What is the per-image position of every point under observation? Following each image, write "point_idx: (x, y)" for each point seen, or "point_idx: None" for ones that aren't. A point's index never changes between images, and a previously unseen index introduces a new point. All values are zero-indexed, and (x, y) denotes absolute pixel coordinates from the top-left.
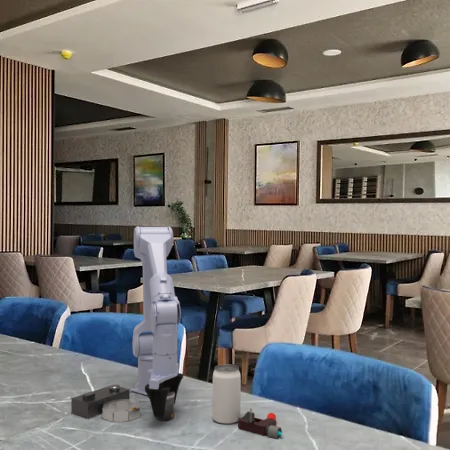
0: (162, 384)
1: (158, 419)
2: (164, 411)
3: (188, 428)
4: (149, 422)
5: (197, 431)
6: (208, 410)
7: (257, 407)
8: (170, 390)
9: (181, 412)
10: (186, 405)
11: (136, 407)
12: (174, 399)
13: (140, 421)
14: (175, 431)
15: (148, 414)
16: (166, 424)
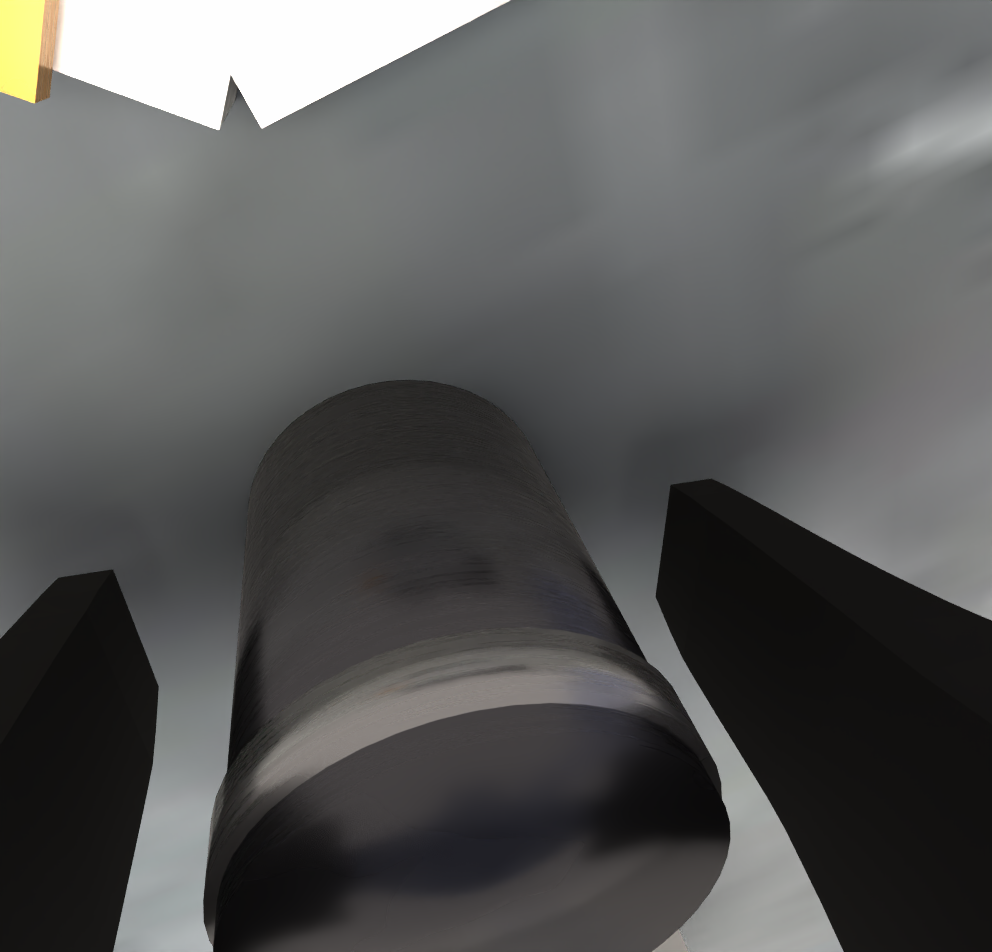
0: (981, 726)
1: (249, 505)
2: (141, 778)
3: (193, 855)
4: (94, 410)
5: (167, 931)
6: (737, 769)
7: (825, 947)
8: (634, 929)
9: (641, 603)
10: (879, 549)
11: (183, 21)
12: (704, 681)
13: (34, 231)
14: None
15: (443, 214)
16: (170, 645)
